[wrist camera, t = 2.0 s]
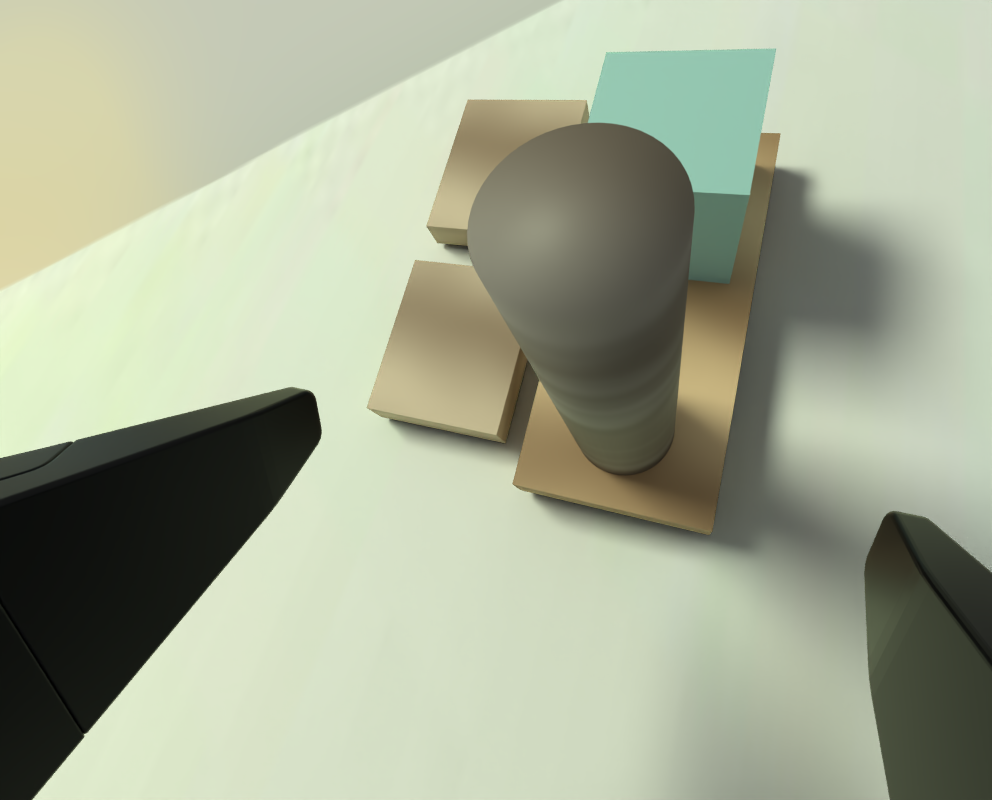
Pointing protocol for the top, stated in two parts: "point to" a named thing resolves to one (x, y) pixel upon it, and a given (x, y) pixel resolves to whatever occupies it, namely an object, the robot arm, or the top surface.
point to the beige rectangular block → (462, 292)
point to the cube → (697, 132)
